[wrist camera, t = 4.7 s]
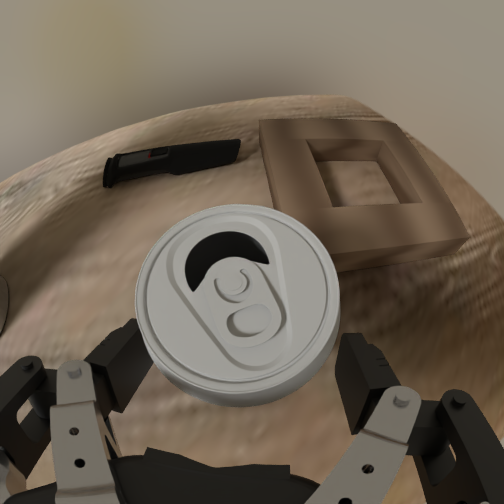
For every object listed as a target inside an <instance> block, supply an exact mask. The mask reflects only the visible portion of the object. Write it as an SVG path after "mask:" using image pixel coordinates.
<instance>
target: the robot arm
mask: <svg viewBox="0 0 504 504" xmlns="http://www.w3.org/2000/svg"><path fill="white" fill-rule="evenodd" d="M7 309H8V287H7V283H6V281H5V279H4V278H3V277H2V276H1V275H0V333H1V331H2V328H3V325H4V322H5V319H6V314H7ZM153 362H154V361H153V360H152V358H151V356H150V354H149V352H148V350H147V348H146V345H145V342H144V339H143V336H142V333H141V331H140V328H139V325H138V322H137V319H134V318H132V319H130V320H129V321H128V322H127V323H126V324H125V325H124V326H123V327H120V328H118V329H116V330H114V331H112V332H111V333H110V334H109V335H108V336H107V337H106V338H105V340H103V341H102V342H101V343H100V345H98V346H97V347H96V348H95V349H94V350H93V351H92V352H91V353H90V354H89V355H88V356H87V357H86V358H85V359H84V360H71V361H67V362H65V363H63V364H62V365H61V366H60V367H59V368H58V370H55V369H45V368H44V366H43V363H42V361H41V359H40V358H39V357H37V356H25V357H23V358H21V359H19V360H18V361H16V362H15V363H14V364H13V365H12V366H11V367H10V368H9V369H8V370H7V371H6V372H5V373H4V374H3V375H1V376H0V504H381V503H382V501H383V499H384V497H385V495H386V494H387V492H388V490H389V488H390V486H391V484H392V482H393V480H394V478H395V476H396V474H397V472H398V470H399V468H400V466H401V463H402V461H403V459H404V457H405V455H412V456H413V459H414V462H415V465H416V468H417V471H418V474H419V478H420V481H421V484H422V488H423V491H424V495H425V499H426V502H427V504H504V449H503V447H502V445H501V443H500V441H499V440H498V438H497V436H496V435H495V433H494V431H493V430H492V428H491V426H490V425H489V423H488V421H487V420H486V418H485V417H484V415H483V413H482V412H481V410H480V409H479V407H478V406H477V404H476V403H475V401H474V400H473V398H472V397H471V396H470V395H469V394H468V393H466V392H464V391H462V390H457V389H453V390H448V391H446V392H445V393H444V394H443V396H442V398H441V400H440V401H429V400H421V398H420V396H419V394H418V393H417V392H416V391H414V390H413V389H411V388H409V387H405V386H401V384H400V382H399V381H398V379H397V377H396V375H395V374H394V372H393V370H392V368H391V367H390V366H389V363H388V362H387V360H385V357H384V355H383V353H382V351H381V350H380V349H378V348H377V347H376V346H374V345H373V344H367V342H366V340H365V338H364V337H363V335H362V333H343V335H342V337H341V341H340V346H339V351H338V355H337V360H336V365H335V377H336V381H337V385H338V388H339V391H340V395H341V398H342V402H343V405H344V409H345V413H346V416H347V420H348V424H349V427H350V431H351V435H355V434H358V435H357V436H356V438H355V439H354V441H353V442H352V444H351V445H350V447H349V448H348V449H347V451H346V452H345V454H344V455H343V457H342V458H341V459H340V461H339V462H338V463H337V465H336V466H335V467H334V469H333V470H332V471H331V473H330V474H329V475H328V476H327V478H326V479H325V480H324V481H323V483H322V484H321V485H320V484H318V483H316V482H314V481H312V480H310V479H307V478H304V477H301V476H297V475H293V474H290V465H260V464H251V465H243V466H233V467H221V468H214V467H210V466H207V465H205V464H202V463H199V462H197V461H194V460H192V459H189V458H187V457H184V456H182V455H179V454H174V453H170V452H165V451H161V450H157V449H153V448H149V447H147V449H146V451H145V454H144V455H132V456H124V457H123V456H122V454H121V451H120V449H119V445H118V442H117V439H116V436H115V433H114V429H113V426H112V422H111V419H110V416H109V413H110V412H111V410H113V411H116V412H119V413H123V411H124V410H125V408H126V406H127V405H128V403H129V402H130V400H131V398H132V397H133V395H134V393H135V392H136V390H137V389H138V387H139V385H140V384H141V382H142V380H143V379H144V377H145V376H146V374H147V372H148V371H149V369H150V368H151V366H152V364H153ZM27 399H28V400H29V402H30V403H31V405H32V407H33V408H32V410H31V411H30V412H29V413H28V415H27V416H26V417H25V418H24V420H23V421H22V422H21V423H20V425H19V423H18V421H17V412H18V410H19V409H20V407H21V406H22V405H23V404H24V403H25V401H26V400H27ZM50 441H51V442H52V453H53V462H54V469H55V476H56V482H54V483H51V484H48V485H45V486H41V487H38V488H34V489H31V490H27V489H26V480H27V478H28V476H29V475H30V473H31V471H32V470H33V468H34V466H35V465H36V463H37V461H38V460H39V458H40V457H41V455H42V453H43V452H44V450H45V449H46V447H47V446H48V444H49V443H50ZM450 444H451V446H452V448H453V450H454V452H455V455H456V461H455V459H454V456H453V454H452V452H451V450H450V447H449V445H450Z"/></svg>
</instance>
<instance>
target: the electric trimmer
mask: <svg viewBox="0 0 504 504" xmlns="http://www.w3.org/2000/svg"><path fill="white" fill-rule="evenodd" d="M240 143H241V140H239V139H231V140H219V141H209V142H199V143H190V144H182V145H173V146H165V147H159V148H153V149H147V150H141V151H136V152H130V153H125V154H116V155H115V156H114V157H113V158H108V160H107V162H106V165H105V168H104V174H103V187H108V188H112V186H113V184H114V183H115V182H118V181H123V180H127V179H132V178H137V177H142V176H147V175H153V174H158V173H164V172H169V173H172V174H174V175H180V174H184V173H188V172H193V171H197V170H202V169H206V168H210V167H215V166H219V165H224V164H229V163H232V162H234V161H235V160H236V158H237V155H238V152H239V148H240Z"/></svg>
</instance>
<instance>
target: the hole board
mask: <svg viewBox="0 0 504 504" xmlns="http://www.w3.org/2000/svg"><path fill="white" fill-rule="evenodd" d="M259 143H260V147H261V152H262V156H263V161H264V165H265V170H266V174H267V179H268V183H269V188H270V192H271V197H272V202H273V207H274V210H277V211H280V212H282V213H284V214H287V215H289V216H291V217H292V218H294V219H296V220H297V221H299V222H300V223H302V224H303V225H304V226H306V227H307V228H308V229H309V230H310V231H311V232H312V233H313V234H314V235H315V236H316V237H317V238H318V239H319V240H320V241H321V243H322V244H323V245H324V247H325V248H326V250H327V251H328V253H329V255H330V257H331V259H332V262H333V264H334V267H335V270H336V273H337V272H344V271H351V270H359V269H365V268H372V267H379V266H386V265H392V264H399V263H405V262H411V261H417V260H423V259H429V258H435V257H441V256H447V255H452V254H455V253H456V252H457V251H458V249H459V248H460V247H461V246H462V245H463V244H464V243H465V242H466V241H467V240H468V239H469V237H470V236H469V234H468V232H467V230H466V228H465V226H464V224H463V222H462V220H461V219H460V217H459V215H458V213H457V211H456V210H455V208H454V206H453V204H452V203H451V201H450V199H449V197H448V196H447V194H446V193H445V191H444V189H443V188H442V186H441V185H440V183H439V181H438V180H437V178H436V177H435V175H434V174H433V172H432V171H431V169H430V168H429V166H428V165H427V164H426V162H425V161H424V159H423V158H422V157H421V155H420V154H419V152H418V151H417V150H416V148H415V147H414V146H413V144H412V143H411V142H410V141H409V139H408V138H407V137H406V135H405V134H404V133H403V132H402V130H401V129H400V128H399V127H398V126H397V124H395V123H386V122H376V121H364V120H348V119H317V118H299V119H268V120H259ZM315 161H377V163H378V164H379V166H380V168H381V169H382V171H383V173H384V174H385V176H386V178H387V180H388V181H389V183H390V185H391V187H392V189H393V191H394V192H395V194H396V196H397V198H398V200H399V202H400V204H384V205H364V206H347V207H333V206H332V203H331V201H330V198H329V195H328V193H327V190H326V188H325V185H324V182H323V180H322V177H321V175H320V172H319V170H318V168H317V165H316V163H315Z"/></svg>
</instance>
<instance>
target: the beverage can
mask: <svg viewBox="0 0 504 504" xmlns="http://www.w3.org/2000/svg"><path fill="white" fill-rule="evenodd" d="M135 310H136V317H137V322H138V325H139V328H140V331H141V333H142V336H143V339H144V342H145V345H146V348H147V350H148V352H149V354H150V356H151V358H152V360H153V361H154V363H155V364H156V366H157V367H158V369H159V370H160V371H161V372H162V373H163V375H164V376H165V377H166V378H167V379H168V380H169V381H170V382H172V383H173V384H174V385H175V386H176V387H178V388H179V389H181V390H182V391H184V392H185V393H187V394H189V395H191V396H193V397H195V398H197V399H199V400H202V401H205V402H208V403H211V404H215V405H220V406H227V407H251V406H258V405H263V404H267V403H270V402H273V401H276V400H279V399H281V398H283V397H285V396H287V395H289V394H291V393H293V392H294V391H296V390H298V389H299V388H300V387H302V386H303V385H304V384H305V383H307V382H308V381H309V380H310V379H311V378H312V377H313V376H314V375H315V374H316V373H317V372H318V371H319V369H320V368H321V367H322V365H323V364H324V363H325V361H326V359H327V358H328V356H329V354H330V352H331V350H332V348H333V346H334V343H335V340H336V338H337V334H338V330H339V324H340V290H339V282H338V277H337V273H336V270H335V267H334V264H333V262H332V259H331V257H330V255H329V253H328V251H327V250H326V248H325V247H324V245H323V244H322V243H321V241H320V240H319V239H318V238H317V237H316V236H315V235H314V234H313V233H312V232H311V231H310V230H309V229H308V228H307V227H306V226H304V225H303V224H302V223H300V222H299V221H297V220H296V219H294V218H292V217H291V216H289V215H287V214H284V213H282V212H280V211H277V210H274V209H271V208H268V207H264V206H257V205H247V204H229V205H222V206H216V207H212V208H208V209H205V210H202V211H200V212H197V213H195V214H193V215H190V216H188V217H187V218H185V219H183V220H181V221H180V222H178V223H177V224H175V225H174V226H173V227H172V228H170V229H169V230H168V231H167V232H166V233H165V234H164V235H163V236H162V237H161V238H160V239H159V240H158V241H157V242H156V243H155V245H154V246H153V247H152V249H151V250H150V252H149V253H148V255H147V257H146V259H145V261H144V263H143V265H142V267H141V270H140V273H139V276H138V280H137V284H136V291H135Z"/></svg>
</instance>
